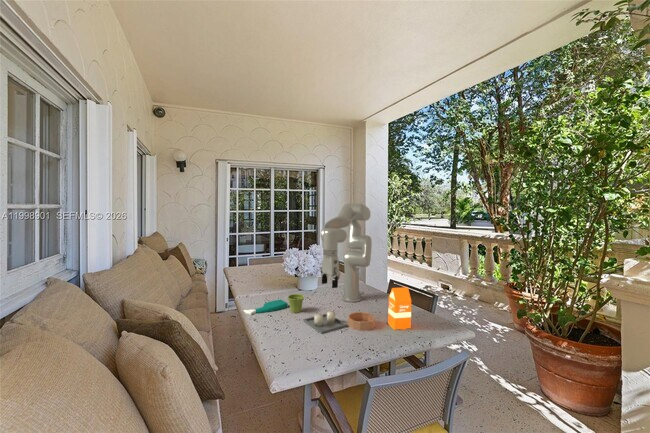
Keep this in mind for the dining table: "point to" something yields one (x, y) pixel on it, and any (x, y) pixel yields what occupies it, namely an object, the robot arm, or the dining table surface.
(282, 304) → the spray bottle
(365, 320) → the bowl
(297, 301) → the plant pot
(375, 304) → the dining table surface
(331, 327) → the parts tray
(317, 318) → the pebble
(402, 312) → the orange juice
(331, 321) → the pebble
